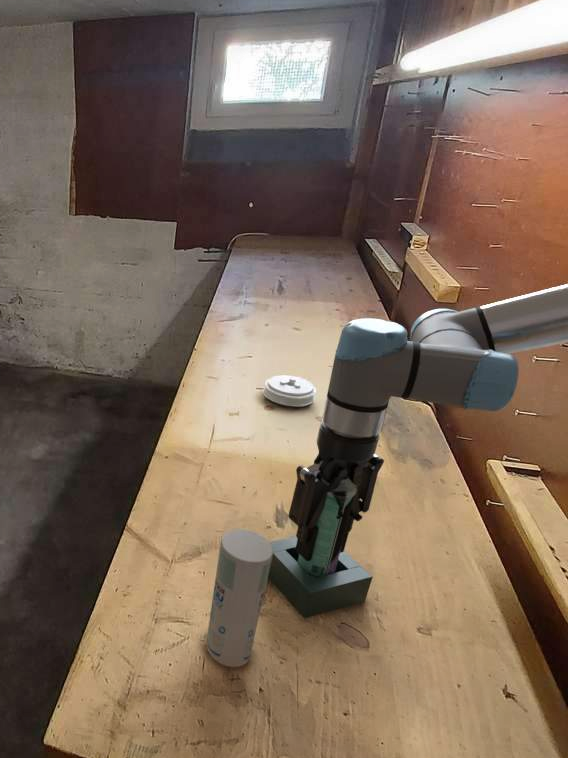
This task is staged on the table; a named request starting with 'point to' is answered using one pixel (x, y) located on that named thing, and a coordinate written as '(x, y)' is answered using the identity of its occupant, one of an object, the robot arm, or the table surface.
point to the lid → (289, 390)
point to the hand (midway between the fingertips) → (319, 550)
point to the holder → (317, 581)
